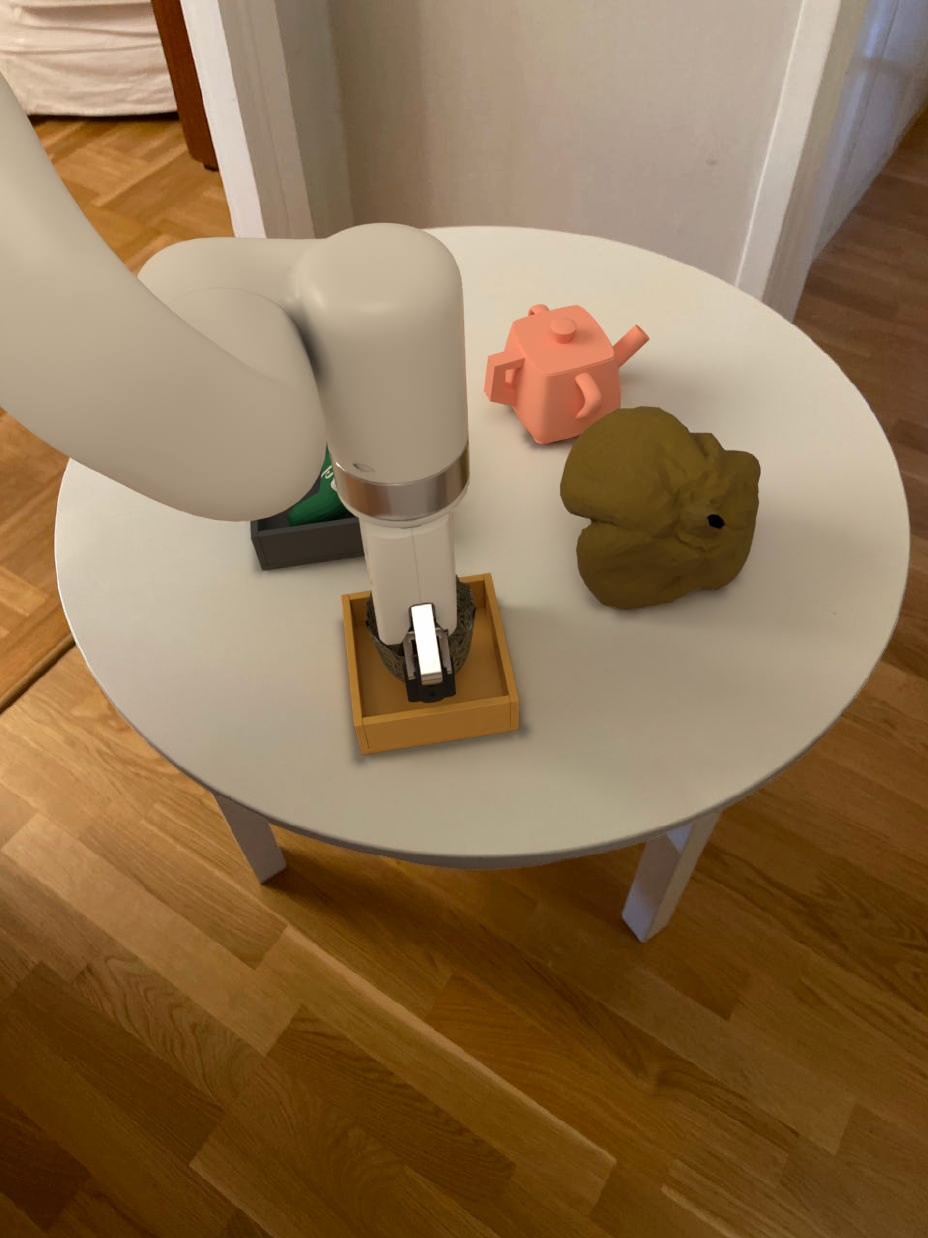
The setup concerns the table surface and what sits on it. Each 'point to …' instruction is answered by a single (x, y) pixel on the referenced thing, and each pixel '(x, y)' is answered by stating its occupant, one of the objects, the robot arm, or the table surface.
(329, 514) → the gaming controller
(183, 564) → the table surface
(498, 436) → the table surface
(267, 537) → the charcoal bin
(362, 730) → the ochre bin
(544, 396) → the teapot
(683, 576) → the olive-brown lumpy blob
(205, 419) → the robot arm
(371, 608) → the cup
